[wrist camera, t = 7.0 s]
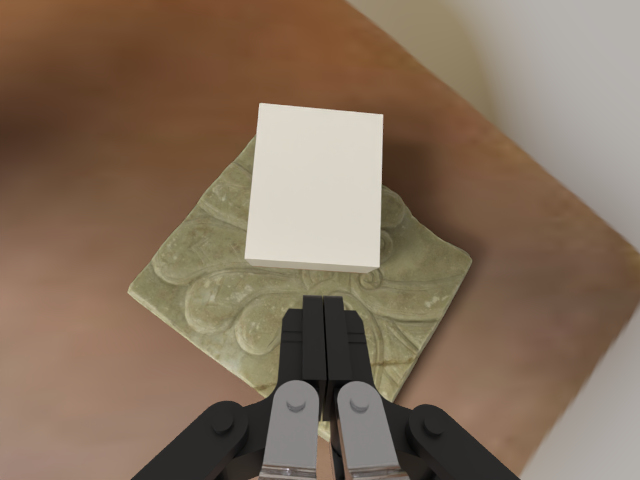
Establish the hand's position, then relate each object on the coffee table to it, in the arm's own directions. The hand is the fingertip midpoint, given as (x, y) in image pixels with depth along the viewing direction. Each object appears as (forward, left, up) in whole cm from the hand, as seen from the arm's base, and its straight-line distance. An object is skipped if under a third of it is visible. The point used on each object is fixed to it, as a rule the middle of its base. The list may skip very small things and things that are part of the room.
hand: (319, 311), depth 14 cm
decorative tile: (0, +3, -15) cm, 15 cm away
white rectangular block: (0, +3, -9) cm, 9 cm away
